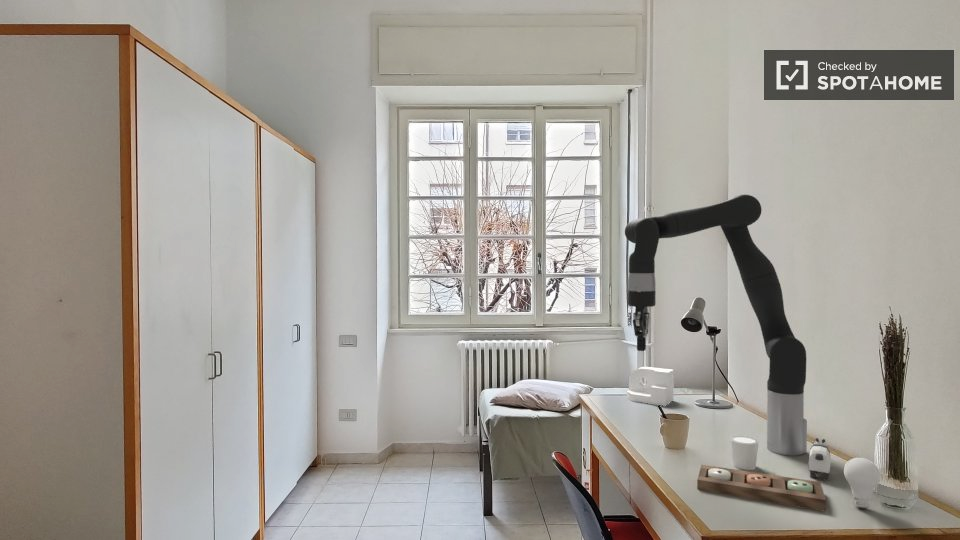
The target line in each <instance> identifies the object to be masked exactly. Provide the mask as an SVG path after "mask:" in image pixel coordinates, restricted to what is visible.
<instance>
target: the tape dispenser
mask: <svg viewBox="0 0 960 540" xmlns="http://www.w3.org/2000/svg"><path fill="white" fill-rule="evenodd" d="M674 373H675V370H674V369H670V368H661V367H651V366H641V367H638V368H636V369H634V370H633V371H632V372H631V373H630V375H629V376H628V377H629V378H628V390H627V391H626V399H627V400H630V401H631V402H635V403H641V402H642V404H647V403H648V404H647V405H654V406H659V405H661V406H660V407H667V406H668V405H669V404H668V403H669V402H671V401H673V400H675V399H674V398H675V397H674V396H675V393H674V392H675V391H674V390H675V389H674V388H675V387H674V386H675V385H674V384H675V379H674V377H675V374H674ZM643 379H644V380H645V381H646V384H645V383H644V382H643ZM673 402H674V401H673ZM671 403H672V402H671ZM667 404H668V405H667ZM662 405H663V406H662ZM666 405H667V406H666Z"/></svg>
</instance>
